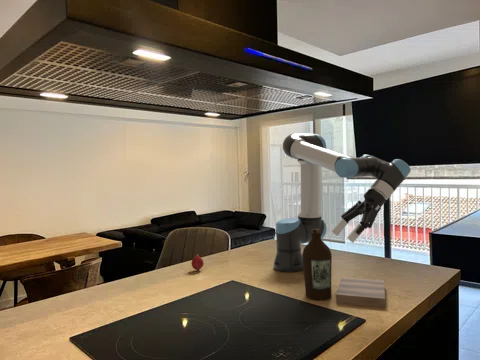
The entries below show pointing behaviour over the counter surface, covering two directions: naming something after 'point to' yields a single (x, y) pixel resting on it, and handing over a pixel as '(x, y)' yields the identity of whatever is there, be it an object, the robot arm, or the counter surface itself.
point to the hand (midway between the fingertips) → (341, 236)
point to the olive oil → (317, 268)
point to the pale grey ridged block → (361, 292)
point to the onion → (197, 262)
